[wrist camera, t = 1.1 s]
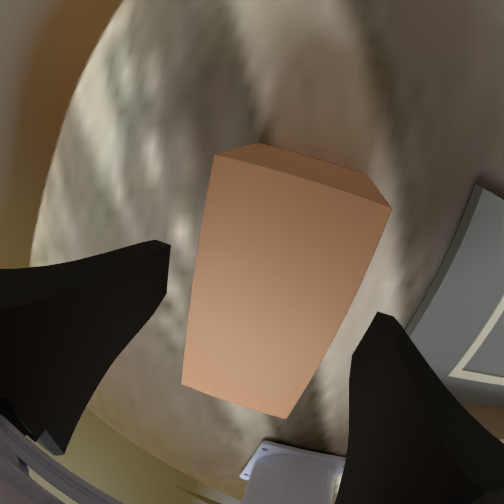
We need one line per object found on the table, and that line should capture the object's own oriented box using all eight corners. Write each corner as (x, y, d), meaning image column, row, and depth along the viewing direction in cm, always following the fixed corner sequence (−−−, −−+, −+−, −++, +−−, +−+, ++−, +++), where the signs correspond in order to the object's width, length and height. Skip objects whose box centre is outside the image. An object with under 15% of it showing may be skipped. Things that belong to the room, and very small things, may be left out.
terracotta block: (300, 342, 15) (286, 419, 11) (219, 315, 16) (181, 383, 11) (366, 174, 11) (391, 208, 7) (258, 142, 11) (214, 154, 7)
